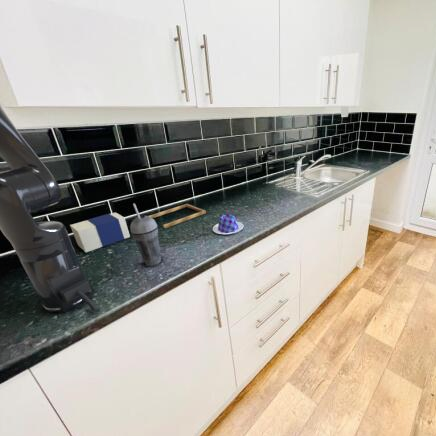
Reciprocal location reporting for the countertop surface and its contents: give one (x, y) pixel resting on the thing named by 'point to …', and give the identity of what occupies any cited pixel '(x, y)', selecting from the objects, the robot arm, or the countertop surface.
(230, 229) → the pudding
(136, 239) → the beverage cup
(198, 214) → the oak frame
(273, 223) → the countertop surface
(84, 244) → the eraser
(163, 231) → the countertop surface
